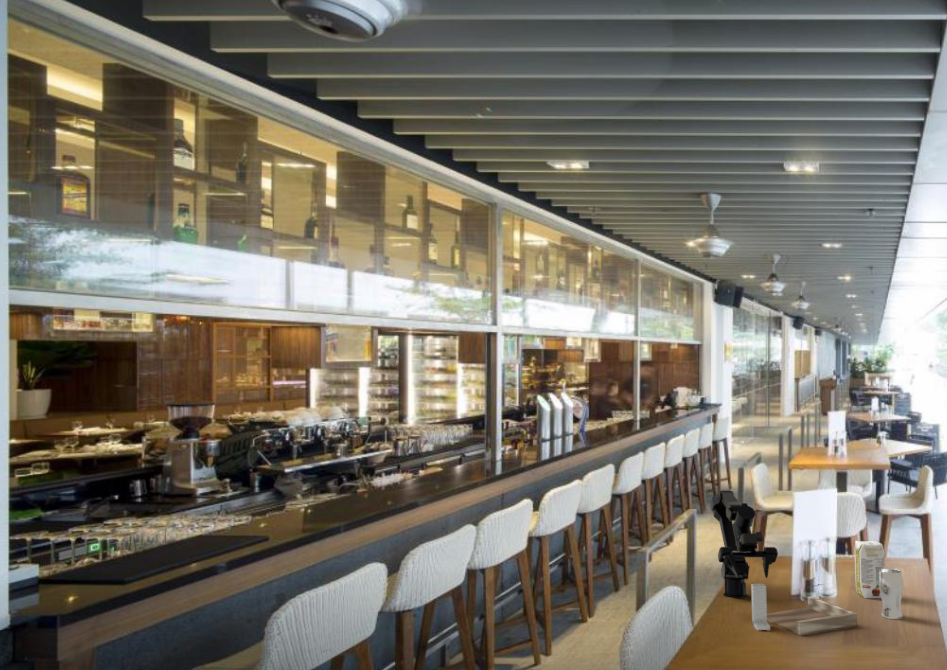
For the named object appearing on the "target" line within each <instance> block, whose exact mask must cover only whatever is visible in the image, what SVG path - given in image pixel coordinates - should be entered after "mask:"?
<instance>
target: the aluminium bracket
mask: <svg viewBox="0 0 947 670" xmlns="http://www.w3.org/2000/svg"><path fill="white" fill-rule="evenodd" d="M750 586H751V590H750V591H751V620H752V621H751V622H752V623H751V624H752V626H753V627H754V628H755V630H756V631H757V632H758V631H759V632H760V631H761V630H767V632H769V631H771V625H770V624H769V622H768V621H767V612H768V609H767V607H768V606H767V605H768V603H767V585H766V584H765V583H751V584H750Z"/></svg>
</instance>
